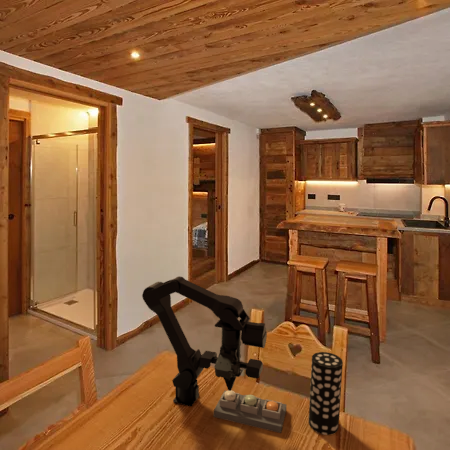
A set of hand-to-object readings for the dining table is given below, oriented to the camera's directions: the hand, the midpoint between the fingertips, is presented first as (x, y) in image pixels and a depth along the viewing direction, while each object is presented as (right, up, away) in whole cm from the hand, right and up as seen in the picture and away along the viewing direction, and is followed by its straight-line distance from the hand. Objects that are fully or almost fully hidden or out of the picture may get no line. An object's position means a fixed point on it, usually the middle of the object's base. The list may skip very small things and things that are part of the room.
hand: (230, 390), depth 105 cm
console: (+6, -7, -1) cm, 9 cm away
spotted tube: (+27, -8, -5) cm, 28 cm away
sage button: (+6, -4, -2) cm, 7 cm away
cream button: (0, -3, 0) cm, 3 cm away
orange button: (+12, -5, -3) cm, 14 cm away
